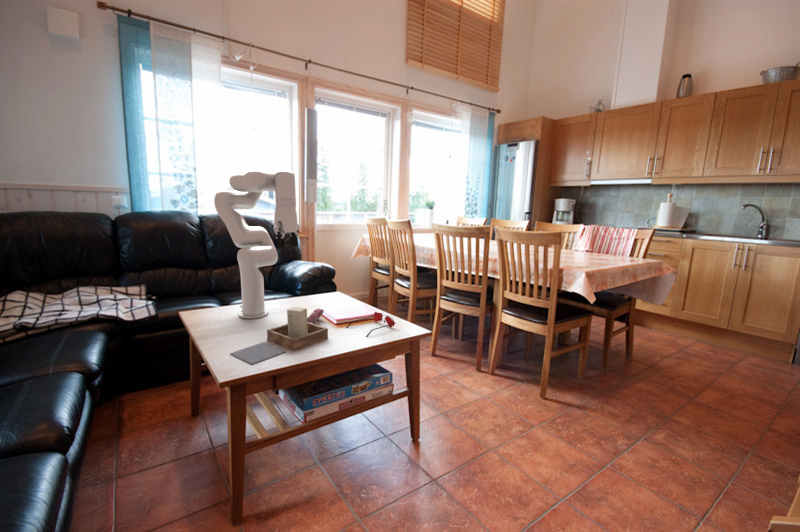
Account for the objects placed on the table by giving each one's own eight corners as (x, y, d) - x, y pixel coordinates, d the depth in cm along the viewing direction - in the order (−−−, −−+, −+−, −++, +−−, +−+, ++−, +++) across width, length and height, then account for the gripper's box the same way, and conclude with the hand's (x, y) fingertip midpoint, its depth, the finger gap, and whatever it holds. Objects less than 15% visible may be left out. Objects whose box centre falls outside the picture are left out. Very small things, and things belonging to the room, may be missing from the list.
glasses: (396, 328, 156) (396, 317, 155) (366, 338, 144) (366, 326, 143) (374, 320, 166) (375, 310, 165) (345, 328, 154) (345, 317, 153)
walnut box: (267, 340, 138) (267, 330, 137) (301, 328, 151) (300, 319, 150) (294, 351, 129) (294, 340, 128) (327, 338, 142) (327, 328, 141)
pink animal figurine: (311, 328, 156) (317, 315, 154) (302, 323, 156) (309, 310, 155) (320, 321, 166) (327, 309, 164) (312, 316, 166) (318, 303, 164)
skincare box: (308, 338, 141) (307, 308, 139) (301, 342, 137) (301, 311, 135) (294, 336, 143) (293, 306, 141) (287, 339, 139) (286, 309, 137)
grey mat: (230, 354, 125) (230, 353, 125) (263, 343, 135) (263, 342, 135) (252, 365, 117) (252, 363, 117) (285, 352, 128) (285, 351, 128)
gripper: (289, 204, 150) (290, 245, 153) (264, 203, 134) (266, 249, 136) (305, 204, 149) (307, 245, 151) (282, 203, 132) (284, 250, 135)
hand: (287, 247), depth 144 cm, fingers open, 9 cm apart
